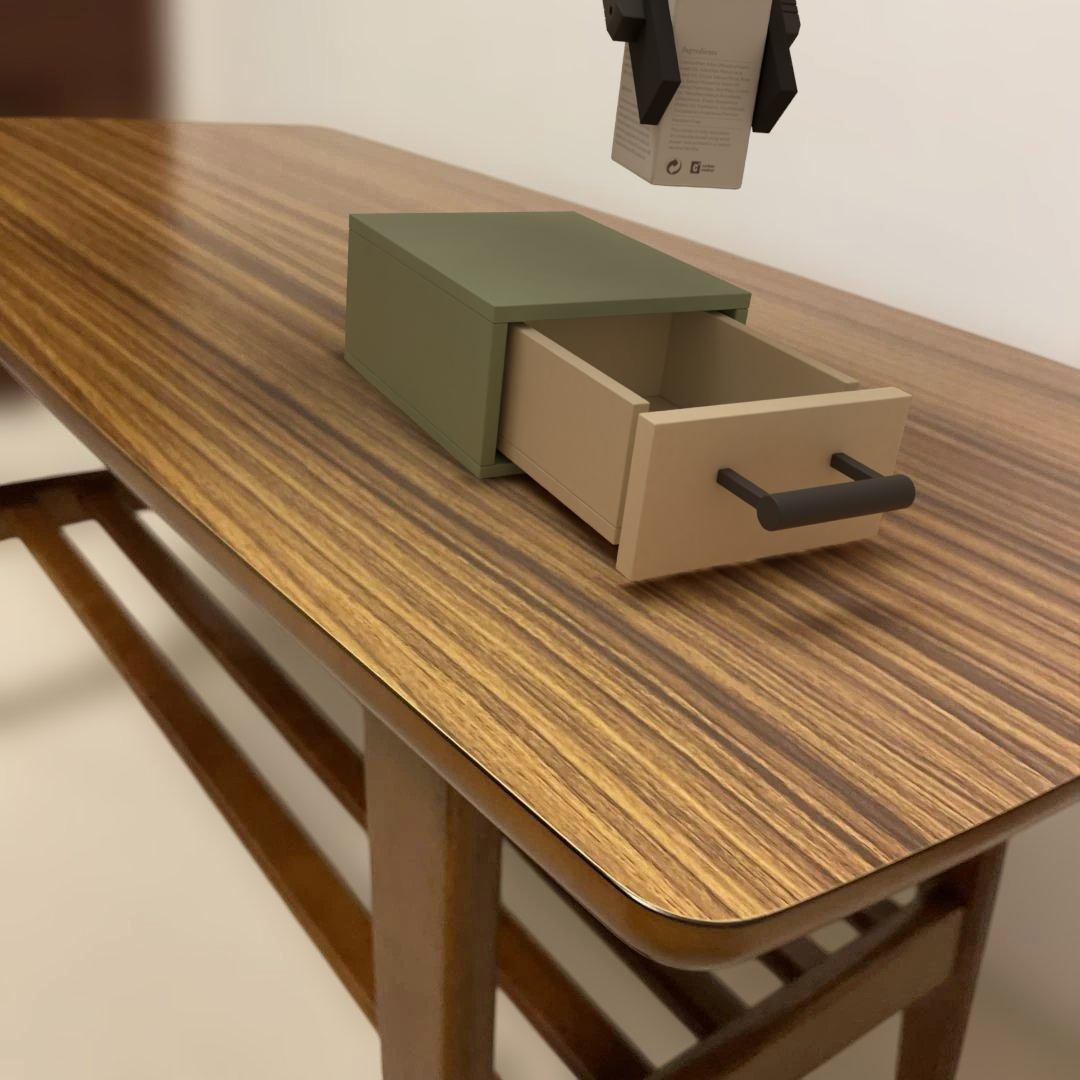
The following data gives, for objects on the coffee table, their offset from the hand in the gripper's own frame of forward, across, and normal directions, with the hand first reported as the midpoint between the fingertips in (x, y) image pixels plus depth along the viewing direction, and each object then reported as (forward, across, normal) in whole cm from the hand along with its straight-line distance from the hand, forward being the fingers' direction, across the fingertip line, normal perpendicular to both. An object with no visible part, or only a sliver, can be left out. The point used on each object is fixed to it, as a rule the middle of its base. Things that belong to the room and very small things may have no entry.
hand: (718, 107), depth 49 cm
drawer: (+12, -1, -12) cm, 17 cm away
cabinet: (+3, +3, -23) cm, 23 cm away
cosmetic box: (0, 0, -5) cm, 5 cm away
